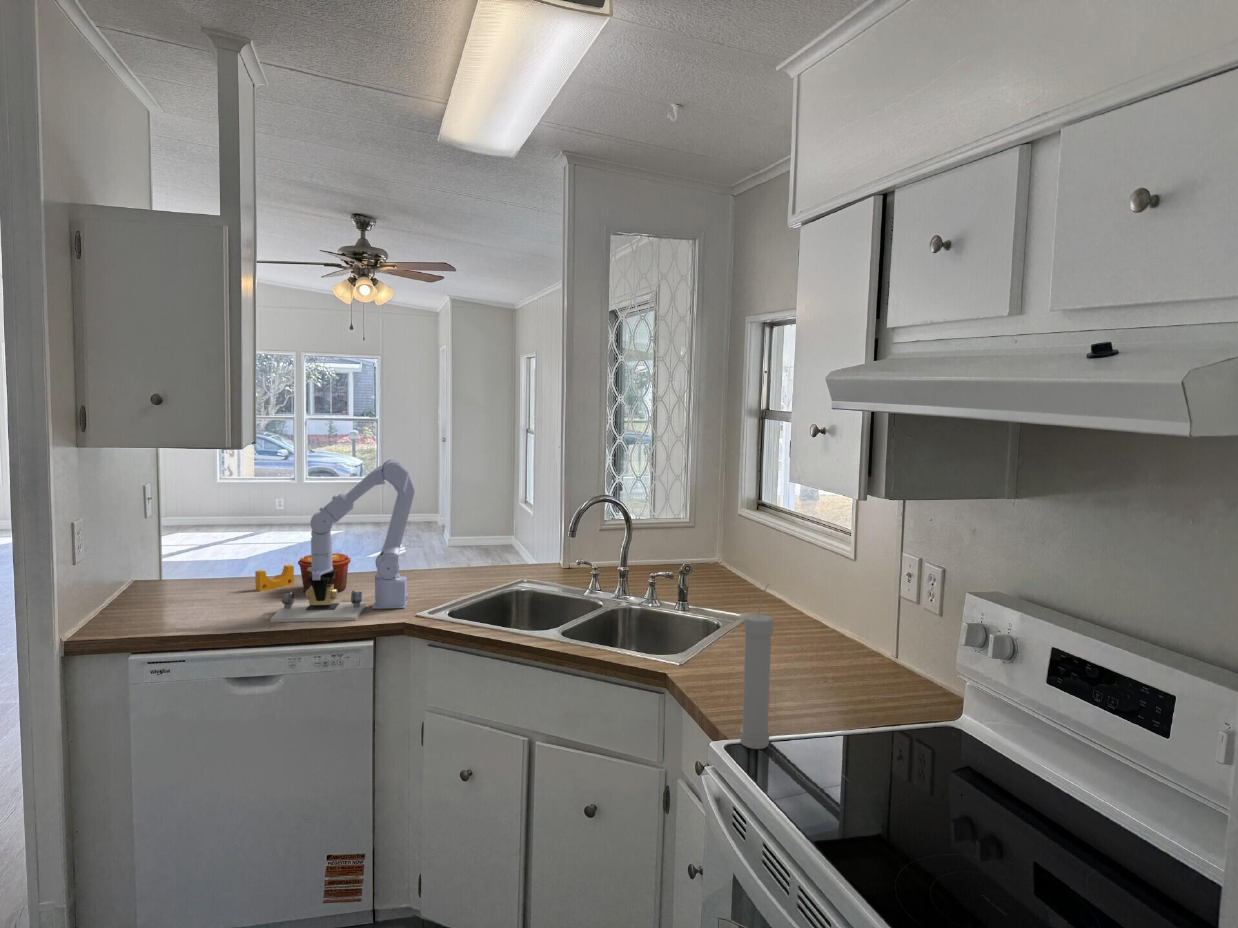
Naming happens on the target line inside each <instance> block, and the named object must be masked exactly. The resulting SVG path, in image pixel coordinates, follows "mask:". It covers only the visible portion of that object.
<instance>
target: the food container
mask: <svg viewBox="0 0 1238 928" xmlns="http://www.w3.org/2000/svg"><path fill="white" fill-rule="evenodd" d="M349 564H351V557H349V556H348V555H347V554H345V553H338V552H337V553H332V567H333V570H332V571H335V574H334V576H333V579H332V581H331V584H334V589H337V593H339V592H342V591H344V590H345V589H346V588H347V583H348V582H347V579H348V573H349V572H348V570H349ZM297 565H299V569H300V573H301V581H302V587H303V592H304V594H306V590H309V588H310V587H311V586H312V585H311V583H310V582H309V578H310V577H312V572H311V571H307V569H308V568H309V567H312V563H311V554H310V555H305V556H303V557H300V559H299V560H298V561H297Z"/></svg>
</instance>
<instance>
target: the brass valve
mask: <svg viewBox="0 0 1238 928" xmlns="http://www.w3.org/2000/svg"><path fill="white" fill-rule="evenodd" d="M338 593H339V592H337V589H334V584H327V588H326V595H325V600H324V601H316V598H315V593H314V590H313V587H312V586H311V587H310V588H309V590H306V593H304V594H305V600H306V601H308V603H309V605H330V604H332V603H334V601H335V600H338Z"/></svg>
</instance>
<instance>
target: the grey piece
mask: <svg viewBox="0 0 1238 928" xmlns="http://www.w3.org/2000/svg"><path fill="white" fill-rule="evenodd" d="M769 585H770V584H769V583H767V585H766V586H765V588H764V590H763V593H762V595H761V598H760V601H759V607H758V614H756V613H753V614H748V615H745V616H744V619H743V629H742V630H743V632H744V633H745V635H744V636H745V637H744V638H745V639H744V641H745V642H744V666H743V667H744V668H743V695H742V698H743V699H742V726H741V727H740V729H739V731H740V743H741V744H742V746H744V747H746V748H748V749H752V750H762V749H765V748H767V747H768V746H769V744H770V742H769V741H770V736H771V732H770V729H769V703H770V702H769V700H770V676H771V673H770V672H771V644H772V635H773V633H774V628H773V627H774V619H773V618H772V617H771V616H770V615H765V614H760V611H761V606H762V601H763V597H764V595H765V593H766V590H767V588H768V587H769Z"/></svg>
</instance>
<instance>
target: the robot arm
mask: <svg viewBox="0 0 1238 928" xmlns="http://www.w3.org/2000/svg"><path fill="white" fill-rule="evenodd" d="M386 481H387V482H388V483H389V484H390V485H391V486H393V488H394V489H395V491H396V493H397V496H396V499H395V503H394V506H393V510H392V514H391V517H390V521H389V526H388V529H387V531H386V533H387V534H386V538H385V540H384V543H383V545H382V547H381V552H380V553H379V554H378V556H377V557H376V558H375V567H376V571H377V572H376V574H374V603H373V604H372V606H371V609H372V610H374V609H375V610H376V609H377V610H378V609H380V610H381V609H382V610H383V609H405V608H406V607H407V606H406V605H407V604H408V601H409V600H408V598H409V597H408V596H409V595H408V578H407V576H401V575H400V573H399V572H400V571H399V570H400V565H399V557H400V551H401V545H402V542H403V537H404V533H405V531H406V530H405V529H406V527H407V522H408V519H409V515H410V511H411V507H412V504H413V501H414V495H415V488H414V485H413V482H412V480H411V477H410V474H409V472H408V470H406V468H405V467H404V466H403V464H402V463H400V461H399V460H396V459H388V460H386V461H385V462H383V464H382V465H379V466H377V467H375V469H374V470H372V471H371V472H369V473H368V474H367V475H366V476H365V477H364V478H362V479H361V480H360V481H359V483H357V484H356V485H355V486H353V488H351V490H349V491H348V492H347V493H345V494H344V493H340V494H338V495H334V496H332V499H331V501H329V502H328V503H327V504H326V505H325V506H323V507H321V506H320V508H319V511H318V512H316V513H314V514H313V515H312V517H311V518H310V528H311V533H310V534H311V538H310V553H311V554H310V555H311V563H312V567H309V568H308V569H307V571H311V572H312V577H310V578H309V582H310V583H311V585H312V587H313V590H314V593H315V598H316V601H324V600H325V595H326V588H327V584H331V581H332V579H333V576H334V574H335V571H332V570H333V567H332V554H333V541H332V540H333V538H332V535H331V532H332V531H331V530H332V528H333V524H336V523H338V522H339V521H340V520H342V518H344V517H345V516H346V515H347V514H348V513H350V511H352V510H353V509H354V502H356V501H357V500H358V499H360V498H361V497H363V495H365V494H366V493H367V492H369V491H370V490H371V489H372V488H374V487H375V486H379V485H385V484H386Z"/></svg>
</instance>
